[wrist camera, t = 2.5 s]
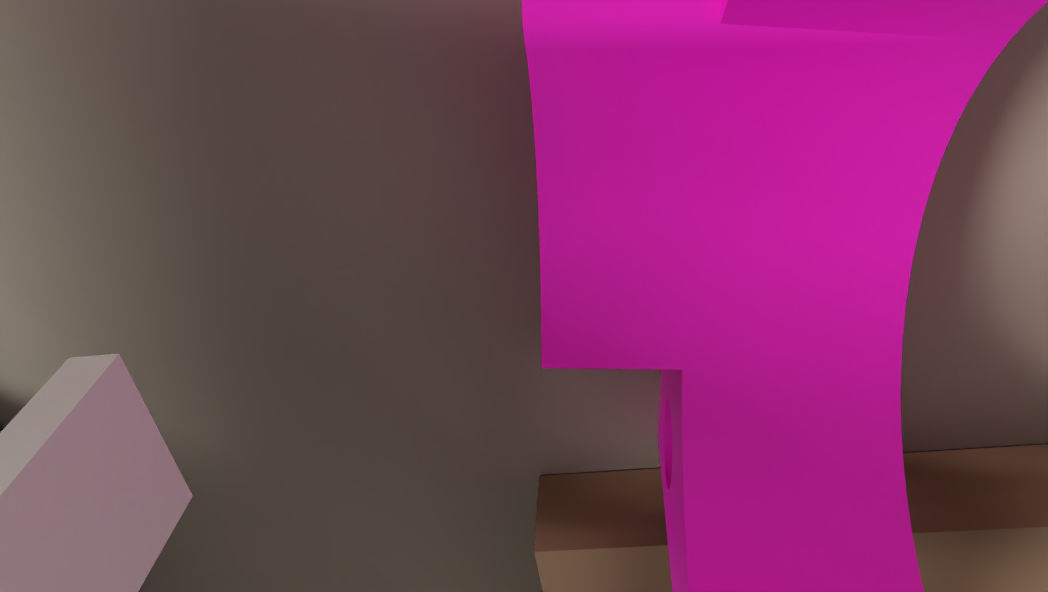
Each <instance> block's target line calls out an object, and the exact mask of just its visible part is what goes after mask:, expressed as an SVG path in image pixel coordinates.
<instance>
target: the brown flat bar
mask: <svg viewBox="0 0 1048 592" xmlns="http://www.w3.org/2000/svg"><path fill="white" fill-rule="evenodd" d="M903 463H904V473H905V483H906V492H907V501H908V508H909V515H910V522H911V529H912V535H913V540H914V546H915V551H916V556H917V562H918V567H919V572H920V576H921V581H922V585H923V589H924V592H1048V444H1044V445H1028V446H1012V447H996V448H980V449H964V450H947V451H931V452H915V453H903ZM534 555H535V560H536V564H537V569H538V573H539V578H540V582H541V587H542V591H543V592H672V582H671V572H670V561H669V551H668V540H667V530H666V519H665V509H664V498H663V488H662V477H661V468H658V469H642V470H626V471H610V472H594V473H578V474H562V475H546V476H539V489H538V502H537V516H536V529H535V542H534Z"/></svg>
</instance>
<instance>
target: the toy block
mask: <svg viewBox="0 0 1048 592" xmlns="http://www.w3.org/2000/svg"><path fill="white" fill-rule="evenodd" d="M1047 2H1048V0H522V21H523V33H524V40H525V47H526V54H527V63H528V71H529V81H530V91H531V101H532V113H533V125H534V139H535V154H536V172H537V191H538V213H539V241H540V279H541V368H568V369H660V370H662V373H661V389H660V405H659V421H658V446H659V456H660V467H661V477H662V488H663V498H664V509H665V519H666V530H667V540H668V551H669V561H670V572H671V582H672V592H924V589H923V585H922V581H921V576H920V572H919V567H918V562H917V556H916V551H915V546H914V540H913V535H912V529H911V522H910V515H909V508H908V501H907V492H906V483H905V473H904V463H903V448H902V432H901V361H902V343H903V330H904V320H905V310H906V301H907V294H908V287H909V281H910V274H911V268H912V263H913V258H914V253H915V248H916V243H917V238H918V234H919V230H920V226H921V222H922V218H923V214H924V210H925V207H926V204H927V201H928V197H929V194H930V191H931V188H932V184H933V181H934V178H935V176H936V173H937V170H938V168H939V165H940V162H941V159H942V157H943V154H944V151H945V149H946V147H947V145H948V142H949V140H950V138H951V136H952V133H953V131H954V129H955V127H956V124H957V122H958V120H959V118H960V117H961V115H962V113H963V111H964V109H965V107H966V105H967V103H968V101H969V100H970V98H971V96H972V94H973V92H974V91H975V89H976V88H977V86H978V84H979V83H980V81H981V80H982V78H983V77H984V75H985V73H986V72H987V70H988V69H989V67H990V66H991V64H992V63H993V62H994V60H995V59H996V58H997V56H998V55H999V54H1000V53H1001V51H1002V50H1003V49H1004V47H1005V46H1006V45H1007V43H1008V42H1009V41H1010V40H1011V39H1012V37H1013V36H1014V35H1015V34H1016V33H1017V32H1018V31H1019V30H1020V29H1021V28H1022V26H1023V25H1024V24H1025V23H1026V22H1027V21H1028V20H1029V19H1030V18H1031V17H1032V16H1033V15H1034V14H1035V13H1036V12H1037V11H1038V10H1040V9H1041V8H1042V7H1043V6H1044V5H1045V4H1046V3H1047Z"/></svg>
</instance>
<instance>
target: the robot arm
mask: <svg viewBox="0 0 1048 592" xmlns="http://www.w3.org/2000/svg"><path fill="white" fill-rule="evenodd" d="M192 497H193V495H192V493H191V492H190V490H189V488H188V486H187V484H186V482H185V480H184V478H183V476H182V474H181V472H180V470H179V468H178V466H177V464H176V463H175V461H174V459H173V457H172V455H171V453H170V451H169V449H168V447H167V445H166V443H165V441H164V439H163V437H162V435H161V434H160V432H159V430H158V428H157V426H156V424H155V422H154V420H153V418H152V416H151V414H150V412H149V410H148V408H147V407H146V405H145V403H144V401H143V399H142V397H141V395H140V393H139V391H138V389H137V387H136V385H135V383H134V381H133V379H132V378H131V376H130V374H129V372H128V370H127V368H126V366H125V364H124V362H123V360H122V358H121V356H120V354H107V355H94V356H82V357H69V358H68V359H67V360H66V361H65V362H64V363H63V365H62V366H61V367H60V368H59V369H58V370H57V371H56V372H55V373H54V374H53V376H52V377H51V378H50V379H49V380H48V381H47V382H46V383H45V384H44V385H43V386H42V388H41V389H40V390H39V391H38V392H37V393H36V394H35V395H34V396H33V397H32V398H31V400H30V401H29V402H28V403H27V404H26V405H25V406H24V407H23V408H22V409H21V411H20V412H19V413H18V414H17V415H16V416H15V417H14V418H13V419H12V420H11V421H10V423H9V424H8V425H7V426H6V427H5V428H4V429H3V430H2V431H1V432H0V592H138V591H139V590H140V588H141V586H142V584H143V583H144V581H145V579H146V577H147V576H148V574H149V572H150V570H151V569H152V567H153V565H154V563H155V562H156V560H157V558H158V556H159V555H160V553H161V551H162V549H163V548H164V546H165V544H166V542H167V541H168V539H169V537H170V535H171V534H172V532H173V530H174V528H175V527H176V525H177V523H178V521H179V520H180V518H181V516H182V514H183V513H184V511H185V509H186V507H187V506H188V504H189V502H190V500H191V499H192Z"/></svg>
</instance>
